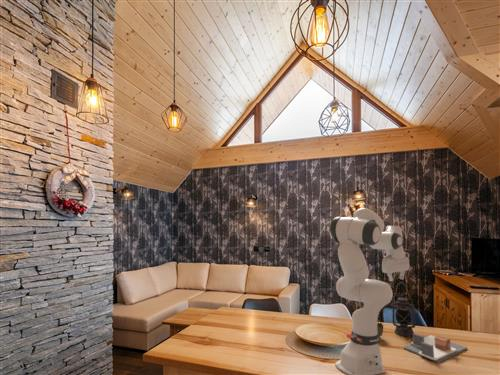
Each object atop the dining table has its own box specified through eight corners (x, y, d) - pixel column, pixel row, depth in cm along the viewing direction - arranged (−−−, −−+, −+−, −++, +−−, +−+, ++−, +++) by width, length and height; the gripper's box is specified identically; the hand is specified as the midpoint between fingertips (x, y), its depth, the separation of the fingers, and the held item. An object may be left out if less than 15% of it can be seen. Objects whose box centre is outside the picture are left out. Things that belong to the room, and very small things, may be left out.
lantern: (393, 335, 168) (390, 282, 171) (391, 329, 178) (389, 279, 181) (418, 338, 164) (414, 284, 167) (414, 331, 174) (411, 280, 177)
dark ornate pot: (385, 341, 160) (384, 326, 161) (371, 340, 161) (370, 325, 162) (382, 336, 167) (381, 322, 168) (368, 335, 169) (368, 321, 169)
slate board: (438, 362, 136) (438, 360, 136) (404, 349, 150) (403, 347, 151) (467, 349, 150) (467, 347, 150) (432, 337, 165) (432, 336, 165)
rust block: (445, 351, 143) (445, 340, 144) (435, 347, 148) (434, 337, 148) (450, 349, 146) (450, 338, 147) (440, 345, 150) (439, 335, 151)
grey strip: (426, 349, 147) (425, 338, 147) (410, 344, 154) (409, 332, 154) (446, 341, 157) (445, 330, 158) (430, 336, 164) (430, 325, 164)
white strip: (435, 360, 136) (434, 347, 136) (418, 353, 143) (417, 341, 143) (456, 350, 146) (455, 338, 146) (439, 344, 153) (439, 333, 153)
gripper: (388, 256, 153) (390, 283, 151) (410, 253, 163) (412, 279, 162) (378, 255, 158) (379, 281, 157) (400, 252, 169) (401, 277, 167)
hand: (396, 280), depth 159 cm, fingers open, 8 cm apart
